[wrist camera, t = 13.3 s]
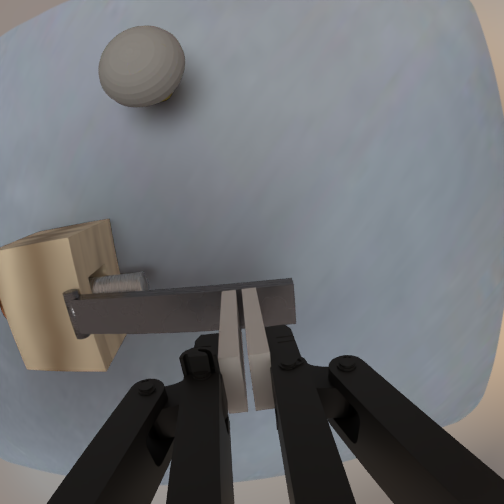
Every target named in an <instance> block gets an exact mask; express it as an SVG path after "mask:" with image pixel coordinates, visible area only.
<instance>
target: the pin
mask: <svg viewBox="0 0 504 504" xmlns="http://www.w3.org/2000/svg"><path fill="white" fill-rule="evenodd" d="M88 279H89V283H90V287H91V291H92V294H98V293H114V292H130V291H145V290H149V285H148V280H147V277H146V275H145V273H144V272H135V273H127V274H118V275H110V276H101V277H93V278H88ZM0 307H1V310H2V313H3V315H4V316H5V318H6V319H7V317H6V314H5V311H4V308H3V305H2V302H1V299H0Z"/></svg>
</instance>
